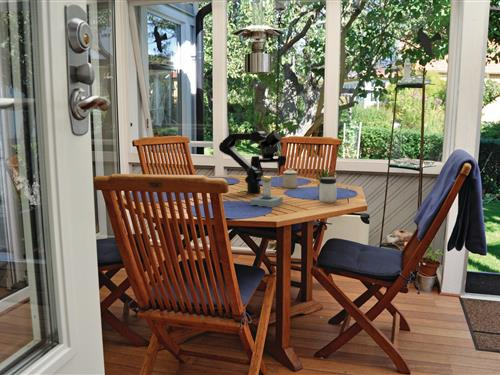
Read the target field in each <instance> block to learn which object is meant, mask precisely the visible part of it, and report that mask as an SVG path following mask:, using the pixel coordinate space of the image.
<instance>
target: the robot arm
mask: <svg viewBox="0 0 500 375" xmlns="http://www.w3.org/2000/svg"><path fill="white" fill-rule="evenodd" d="M238 140H240V141H244V140H245V141H251V142H255V143H259V144H258V145H257V149H259V150H260V151H261V153H260V154H261V158H260V156H259V155H256V156H255V155H253V156H252V155H251V156H252V157H251V158H250V162H249V161H248V160H247V159H246V158H245V157H244V156H243V155H242V154H240V152H238V151H237V150H236V143H237V141H238ZM282 140H283V138H282V135H281V134H280V133H279V132H277V131H276V130H272V131H271V132H270V133H269V134H268V133H267V132H265V131H264V130H260V131H259V130H257V131H254V132H244V133H243V132H241V133H240V132H237V133H236V132H231V133H229V134H228V135H227V137H225V139H222V141H221V142H220V143H219V146H218V148H219V151H220V152H221V153H222V154H224V155H227V156H229V157H231V158H232V159H233V160H234V161H235V162H236V164H238V165H239V166H240V167H241V168H242V169H243V170H244V171H245V173H246V175H247V176H246V177H245V178H244V181H245V183H247V186H246V188H247V191H245V192H246V194H253V195H255V194H256V195H257V194H259V193H261V192H262V191H261V184H260V182H262V180H261V176H264V171H263V167H262V163H263V164H265V163H266V164H267V163H269V164H270V163H276V164H277V172H278V174H280V173H281V167H284V166H285V165H286V161H287V156H286V155H284V154H283V155H278V156H277V158H274V157H275V153H277V152H278V150H279V149H278V146H277V145H278V143H280V142H281V141H282Z"/></svg>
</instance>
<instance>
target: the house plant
mask: <svg viewBox="0 0 500 375" xmlns="http://www.w3.org/2000/svg"><path fill="white" fill-rule="evenodd" d="M333 170H334V168H333V169H331V170H330V166H329V167H327V169H326V170H325V168H324V166H322V169H320V168H318V170H317V169H315V170H314V172H316V173H317V175H318V176H314V178H315V179H316V182H320V178H321V177H333V176H338V173H334V171H333ZM332 173H333V174H332ZM316 186H317V190H318V194H319V183H317V185H316Z"/></svg>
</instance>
